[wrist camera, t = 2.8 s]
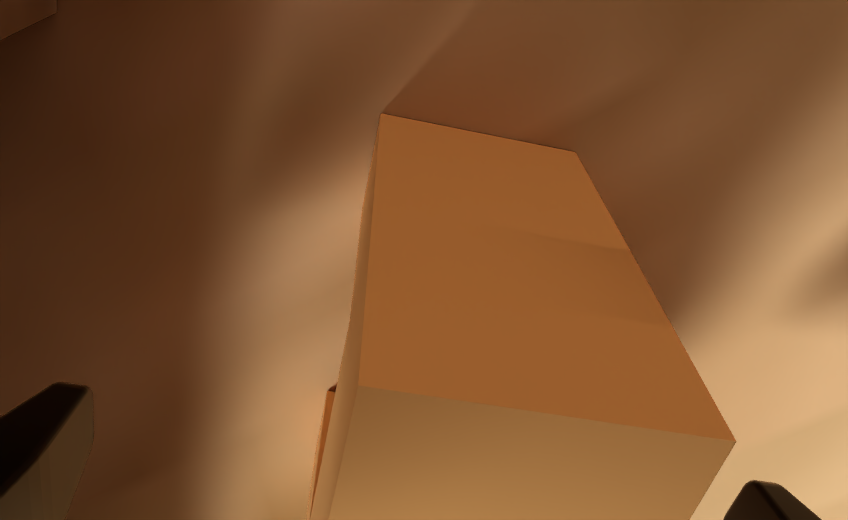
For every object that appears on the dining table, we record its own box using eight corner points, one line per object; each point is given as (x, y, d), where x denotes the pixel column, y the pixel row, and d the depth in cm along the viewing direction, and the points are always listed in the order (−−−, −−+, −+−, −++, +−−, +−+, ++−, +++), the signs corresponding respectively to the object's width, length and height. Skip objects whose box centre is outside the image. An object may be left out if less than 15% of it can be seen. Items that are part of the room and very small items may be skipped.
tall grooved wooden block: (464, 472, 14) (499, 834, 9) (315, 452, 14) (262, 819, 9) (574, 152, 11) (736, 440, 6) (380, 112, 10) (359, 386, 5)
